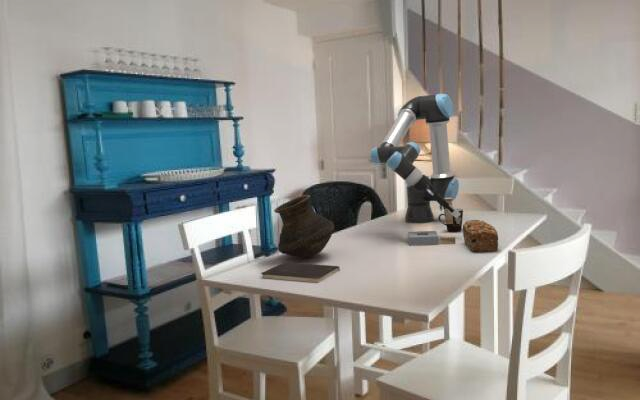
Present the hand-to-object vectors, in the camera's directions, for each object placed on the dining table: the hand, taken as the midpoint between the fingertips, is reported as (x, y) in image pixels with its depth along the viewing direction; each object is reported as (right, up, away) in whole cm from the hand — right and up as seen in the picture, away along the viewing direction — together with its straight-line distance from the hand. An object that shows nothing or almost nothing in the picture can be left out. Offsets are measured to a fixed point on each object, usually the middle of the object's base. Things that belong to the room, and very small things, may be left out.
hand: (458, 215), depth 227 cm
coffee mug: (+1, -8, +16) cm, 18 cm away
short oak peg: (-7, -12, -9) cm, 16 cm away
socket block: (-16, -11, -3) cm, 20 cm away
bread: (+4, -12, -19) cm, 23 cm away
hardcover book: (-67, -20, -42) cm, 81 cm away
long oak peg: (-4, -3, +1) cm, 5 cm away
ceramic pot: (-65, -17, -17) cm, 69 cm away
